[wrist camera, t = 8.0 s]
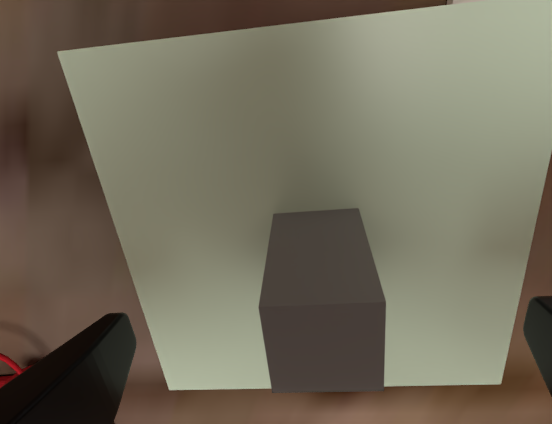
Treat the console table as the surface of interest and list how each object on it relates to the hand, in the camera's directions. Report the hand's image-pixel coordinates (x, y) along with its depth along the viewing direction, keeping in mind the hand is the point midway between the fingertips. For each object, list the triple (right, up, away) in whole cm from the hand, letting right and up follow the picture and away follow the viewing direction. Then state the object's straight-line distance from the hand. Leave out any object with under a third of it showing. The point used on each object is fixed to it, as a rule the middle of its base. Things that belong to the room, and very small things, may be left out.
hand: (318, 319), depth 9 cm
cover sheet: (0, +2, +3) cm, 4 cm away
